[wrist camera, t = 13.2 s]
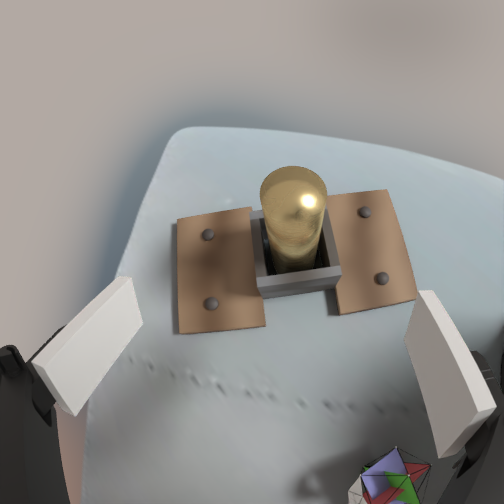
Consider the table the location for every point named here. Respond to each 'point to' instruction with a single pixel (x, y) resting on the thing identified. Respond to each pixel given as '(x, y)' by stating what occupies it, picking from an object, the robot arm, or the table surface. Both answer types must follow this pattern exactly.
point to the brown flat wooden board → (264, 286)
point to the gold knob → (293, 216)
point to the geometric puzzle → (388, 481)
